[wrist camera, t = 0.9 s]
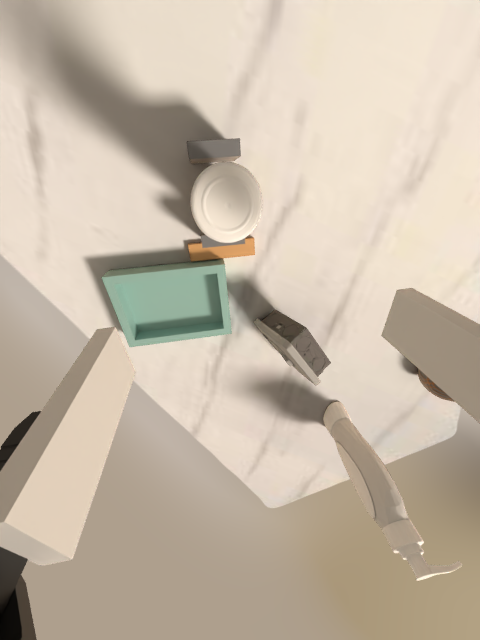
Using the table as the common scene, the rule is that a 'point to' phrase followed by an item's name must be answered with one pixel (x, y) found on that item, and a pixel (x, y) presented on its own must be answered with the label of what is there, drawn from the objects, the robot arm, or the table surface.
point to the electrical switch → (294, 344)
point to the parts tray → (170, 301)
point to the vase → (432, 387)
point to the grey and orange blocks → (209, 247)
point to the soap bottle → (379, 492)
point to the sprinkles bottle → (226, 202)
